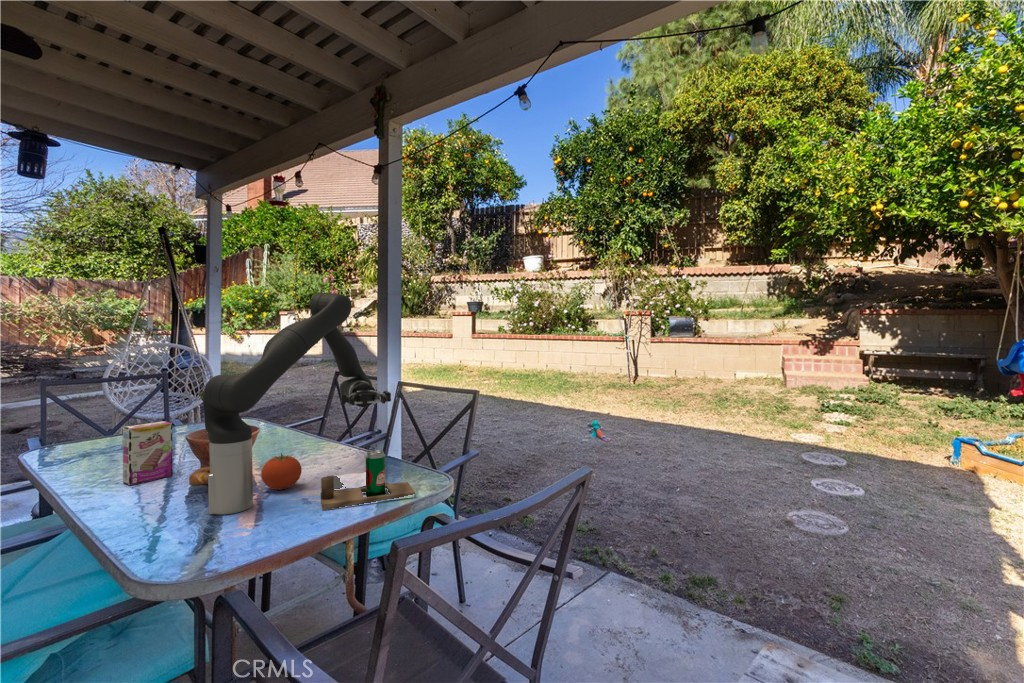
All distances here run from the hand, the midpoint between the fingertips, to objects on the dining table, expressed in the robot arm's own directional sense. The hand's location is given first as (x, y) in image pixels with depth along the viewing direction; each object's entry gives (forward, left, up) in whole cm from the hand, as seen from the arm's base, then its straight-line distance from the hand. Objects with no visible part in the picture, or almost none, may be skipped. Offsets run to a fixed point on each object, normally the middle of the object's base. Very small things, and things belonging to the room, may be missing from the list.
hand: (368, 400), depth 141 cm
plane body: (-2, -12, -24) cm, 27 cm away
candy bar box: (-59, +29, -24) cm, 70 cm away
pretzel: (-42, +22, -24) cm, 53 cm away
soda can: (0, -12, -24) cm, 27 cm away
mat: (-5, +4, -24) cm, 25 cm away
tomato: (-23, +5, -24) cm, 34 cm away
